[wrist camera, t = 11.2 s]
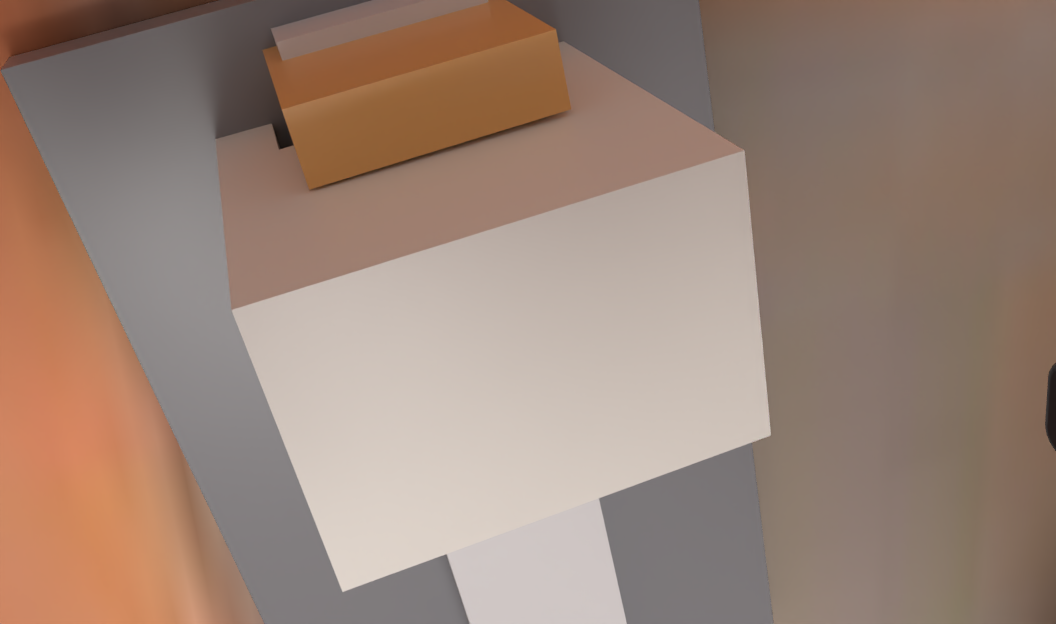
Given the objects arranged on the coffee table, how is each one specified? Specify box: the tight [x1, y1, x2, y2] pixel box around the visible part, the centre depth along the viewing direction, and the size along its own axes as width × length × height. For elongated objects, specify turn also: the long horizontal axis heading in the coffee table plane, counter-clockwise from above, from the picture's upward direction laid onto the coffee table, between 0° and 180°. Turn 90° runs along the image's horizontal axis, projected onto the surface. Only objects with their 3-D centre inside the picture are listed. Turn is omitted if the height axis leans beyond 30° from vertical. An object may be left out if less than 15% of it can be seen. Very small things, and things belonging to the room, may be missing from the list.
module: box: [215, 41, 771, 592], centre depth 16 cm, size 6×4×7 cm
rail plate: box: [0, 0, 773, 624], centre depth 21 cm, size 12×20×5 cm, turn 11°
